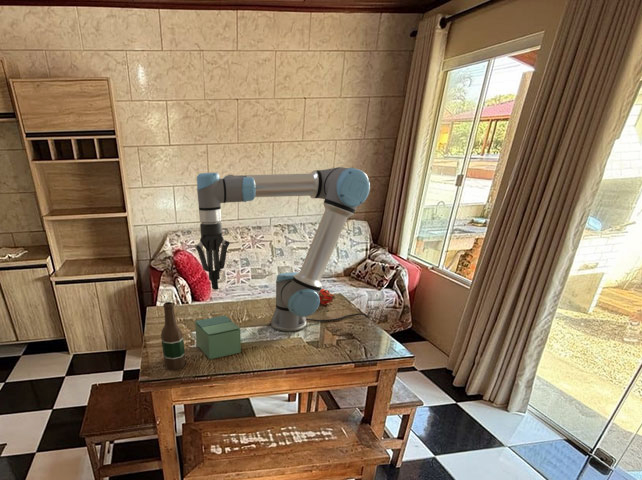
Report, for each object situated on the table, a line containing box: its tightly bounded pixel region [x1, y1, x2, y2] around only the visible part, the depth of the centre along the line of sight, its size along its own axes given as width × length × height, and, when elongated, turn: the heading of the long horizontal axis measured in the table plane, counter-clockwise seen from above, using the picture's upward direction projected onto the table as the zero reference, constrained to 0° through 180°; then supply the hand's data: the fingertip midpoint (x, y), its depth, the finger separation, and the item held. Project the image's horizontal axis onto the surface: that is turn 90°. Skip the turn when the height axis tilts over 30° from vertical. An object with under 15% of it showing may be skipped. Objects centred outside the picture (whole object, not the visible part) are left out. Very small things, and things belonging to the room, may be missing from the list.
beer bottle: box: [160, 301, 186, 371], centre depth 145 cm, size 8×8×24 cm
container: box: [194, 321, 242, 360], centre depth 159 cm, size 15×13×10 cm
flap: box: [194, 315, 233, 327], centre depth 160 cm, size 7×13×1 cm, turn 113°
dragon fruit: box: [319, 288, 336, 306], centre depth 200 cm, size 8×8×12 cm
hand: (215, 288), depth 153 cm, fingers closed
